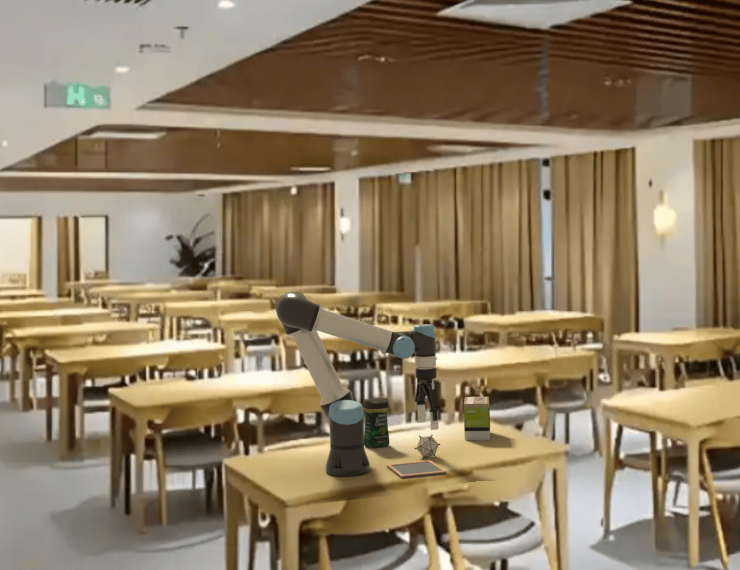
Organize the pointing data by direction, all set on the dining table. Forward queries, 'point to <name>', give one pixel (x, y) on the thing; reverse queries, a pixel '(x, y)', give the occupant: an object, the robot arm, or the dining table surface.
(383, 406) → the coffee jar
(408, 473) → the mat
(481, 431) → the tea box
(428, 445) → the game die
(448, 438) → the dining table surface
